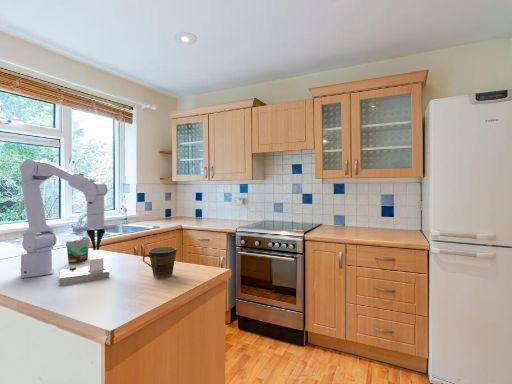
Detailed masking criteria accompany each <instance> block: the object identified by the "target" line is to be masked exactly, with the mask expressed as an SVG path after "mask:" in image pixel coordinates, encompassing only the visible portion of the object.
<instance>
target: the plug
mask: <svg viewBox="0 0 512 384" xmlns="http://www.w3.org/2000/svg"><path fill="white" fill-rule="evenodd" d="M103 264H104V257H103V255H101V254H100V255H91V256H88V266H89V270H90V272H93V271H101V270H104V267H103Z"/></svg>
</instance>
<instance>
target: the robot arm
mask: <svg viewBox="0 0 512 384" xmlns="http://www.w3.org/2000/svg"><path fill="white" fill-rule="evenodd" d="M19 170H20V176H21V181H20V183H21V188H22V189H21V190H22V194H23V201H24V206H25V211H26V217H27V222H28V224H27V225H28V227H27V229H26V230H25V231H24V232H23V233H22V236H23V238H22V242H21V243H22V244H21V245H22V247H23V249H24V250H25V252H22V253H21V255H20V279H24V278H31V277H40V276H46V275H52V274H53V273H54V270H55V268H53V267H52V265H53V263H52V262H53V261H52V259H53V258H52V257H53V256H52V252H53V251H52V250H53V249H54V246H55V245H56V243H57V236H56V235H55V233H54V230H53V228H52V227H51V226H50V225H48V224H47V220H46V213H45V208H44V203H43V198H42V197H43V196H42V191H41V185H42V183H44V182H46V181H47V180H48V179H50V178H52V177H53V176H55V177H56V178H57V177H58V178H60V179H62V180H64V181H66V182H68V185H69V186H70V187H72V188H74V189H76V191H77V190H78V191H80V192H82V193H83V195H84V198H85V201H86V225H79V226H77V225H76V226H72V232H73V233H81V232H86V233H87V237H88V238H89V239H90V242H91V245H92V248H93V249H92V251H96V250H97V251H100V245H101V242H102V239H103V237H104V235H105V233H106V232H105V231H108V230H118V224H117V223H105V196H106V195H107V193H108V187H107V185H106V183H104V182H103V181H96V180H95V178H91V177H88V176H86V175H85V174H86V173H83V172H75V173H73V172H71V171H69V170H68V169H66V168H65V167H63V166H60V165H59V164H57V163H56V162H53V161H50V160H39V159H31V158H28V159H24V161H22V163H21V164H20V166H19ZM95 231H96V232H95Z"/></svg>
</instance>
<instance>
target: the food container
mask: <svg viewBox="0 0 512 384" xmlns="http://www.w3.org/2000/svg"><path fill="white" fill-rule="evenodd" d="M90 244H92V242H91V239H90V237H89V236H87V237H86V236H83V237H82V238H81V239H76V240H72V241H69V240H68V241H66V243H65V247H66V250H67V263H68V265H69V264H79V263H80V264H81V263H85V262H87V261H89V246H90Z"/></svg>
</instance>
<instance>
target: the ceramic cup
mask: <svg viewBox="0 0 512 384" xmlns="http://www.w3.org/2000/svg"><path fill="white" fill-rule="evenodd" d="M146 257H149V261H150V263H149V262H146V261H145V258H146ZM176 257H177V248H176V247H173V246H161V247H160V246H159V247H153V248H151V249H149V250H148V254H147V253H146V254H144V255H143V257H142V262H143V263H145V264H146V265H147V266H149V267H150V268H151V269H152V276H153V278H154V279H158V280H160V279H162V280H164V279H168V278H171V277H172V276H173V273H174V266H175V260H176Z"/></svg>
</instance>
